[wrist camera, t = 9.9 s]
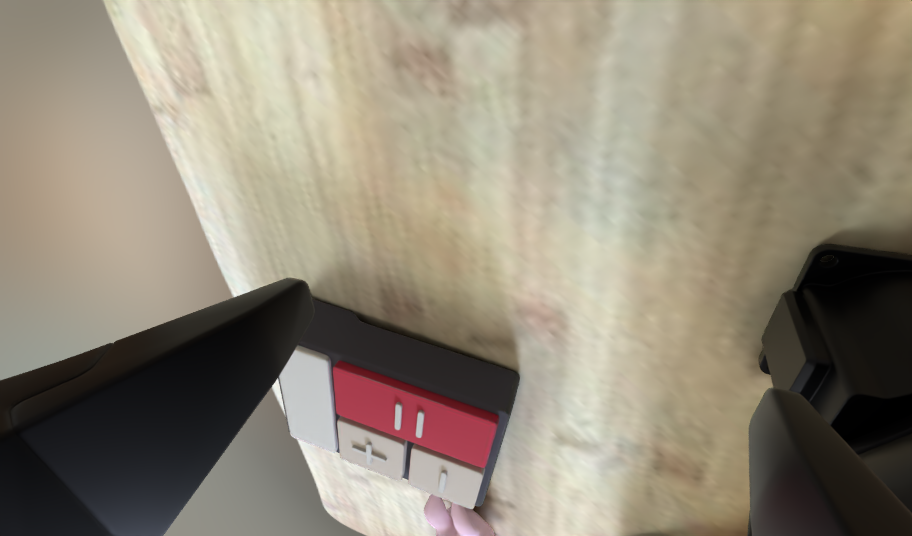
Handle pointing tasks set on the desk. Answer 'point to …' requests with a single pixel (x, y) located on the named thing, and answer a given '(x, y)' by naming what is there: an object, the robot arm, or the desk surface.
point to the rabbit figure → (454, 519)
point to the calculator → (398, 405)
